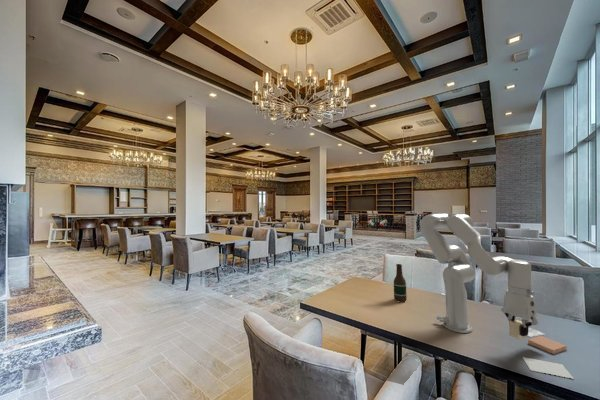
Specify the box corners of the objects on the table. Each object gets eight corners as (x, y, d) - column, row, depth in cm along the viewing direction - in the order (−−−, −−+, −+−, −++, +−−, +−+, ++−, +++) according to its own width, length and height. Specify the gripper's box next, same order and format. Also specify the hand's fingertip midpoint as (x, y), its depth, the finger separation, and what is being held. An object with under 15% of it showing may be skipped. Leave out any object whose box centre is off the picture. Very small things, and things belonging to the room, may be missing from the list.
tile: (553, 350, 106) (566, 345, 109) (528, 339, 114) (540, 335, 117) (553, 355, 106) (566, 350, 109) (528, 344, 114) (540, 340, 117)
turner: (521, 340, 105) (522, 326, 105) (506, 333, 110) (507, 319, 110) (545, 336, 109) (546, 322, 109) (530, 329, 115) (531, 316, 115)
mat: (530, 370, 96) (530, 369, 96) (522, 357, 104) (522, 357, 104) (574, 379, 91) (574, 378, 91) (562, 365, 99) (562, 364, 99)
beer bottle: (394, 302, 167) (392, 265, 168) (394, 298, 174) (392, 262, 175) (406, 303, 164) (405, 266, 165) (406, 299, 172) (405, 263, 172)
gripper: (548, 296, 101) (548, 341, 101) (504, 282, 117) (503, 322, 117) (536, 298, 99) (536, 345, 99) (492, 284, 114) (492, 325, 115)
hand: (518, 332), depth 108 cm, fingers closed on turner, 3 cm apart
